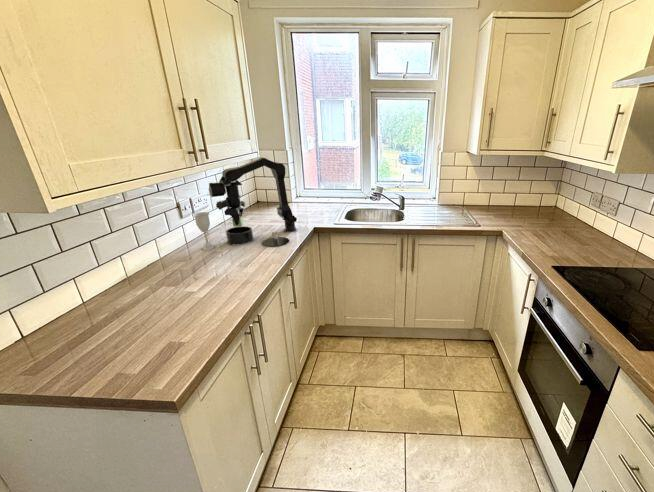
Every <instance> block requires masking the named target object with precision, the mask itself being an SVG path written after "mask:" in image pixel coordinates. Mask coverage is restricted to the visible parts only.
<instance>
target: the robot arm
mask: <svg viewBox="0 0 654 492" xmlns="http://www.w3.org/2000/svg"><path fill="white" fill-rule="evenodd" d="M263 167H266V168H268V169H270V171H271V174H272V176H273V178H274V180H275V185H276V191H277V196H278V202H279V205H278V207H277V206H276V210H277V213H276V214H277V215H278V217H280V218H281V219H282V221H283V222H284V233H292V232H296V231H297V227H296V222H297V220H298V218H297V217H296V216H294V215H293V211H292V209H291V206H290V205H289V202H288V196H287V190H286V189H287V188H286V182H285V178H286V166H285V164H284V163H281V162H278V161H272V160H270V159H268V158H266V157H261V156H260V157H259V158H257V159H255V160H252V161H250V162H247V163H245V164H243V165H240V166H236V167H229V168H225V169H223V170H222V173H221V177H220V179H219V181H218V182H209V183H208V193H209V196H210V197H211V198H216V197H223V196H225V195H226V197H225V199H223V200H219V201H216V203H215V206H216V208H217V209H218V210H219V211H220V210H222V209H225V208H226V209H225V210H224V216H230V217H231V218H232V219H233V220H234V222H235V224H236V225H238V224H239V219H240V217H242V216H243V213H244V210H245V207H246V202H245V201H244V200H241V195H240V191H239V190H240V189H239V186H242V185H243V184H242V183H241V182H240V181H239V180H240V179H241V178H242V176H245V175H246V174H248V173H250V172H251V173H252V172H253V171H255V170H258V169H260V168H263ZM242 218H243V217H242Z"/></svg>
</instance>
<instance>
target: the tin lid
mask: <svg viewBox="0 0 654 492" xmlns="http://www.w3.org/2000/svg"><path fill="white" fill-rule="evenodd" d="M289 242H290V239H289V237H285V236H278V231H273V232H272V237H269V238H266V239H264V240H262V245H263V246H264V247H269V248H275V247H276V248H277V247H282V246H285V245H287V244H289Z"/></svg>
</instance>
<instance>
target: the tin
mask: <svg viewBox="0 0 654 492" xmlns="http://www.w3.org/2000/svg"><path fill="white" fill-rule="evenodd" d="M225 234H226V239H227V244H228V245H230V246H233V245H245V244H248V243H251V242H253V241H254V234H253V228H252V227H250V226H245V225H242V226H238V227H230V228H228V229H226V230H225Z"/></svg>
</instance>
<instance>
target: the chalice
mask: <svg viewBox="0 0 654 492" xmlns="http://www.w3.org/2000/svg"><path fill="white" fill-rule="evenodd" d="M192 216H193V217H194V220H195V225H196V227H197V228H198V230H200V232H201V233H203V237H204V241H205V243H204V244H203V247H202V250H203V251H209V250H213V249H214V248H215V246H213V244H212V243H211V242H209V238H208V234H207V232H208V231H209V228H210V225H211V221H210V212H209V211H199V212H196V213H193V214H192Z"/></svg>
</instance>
